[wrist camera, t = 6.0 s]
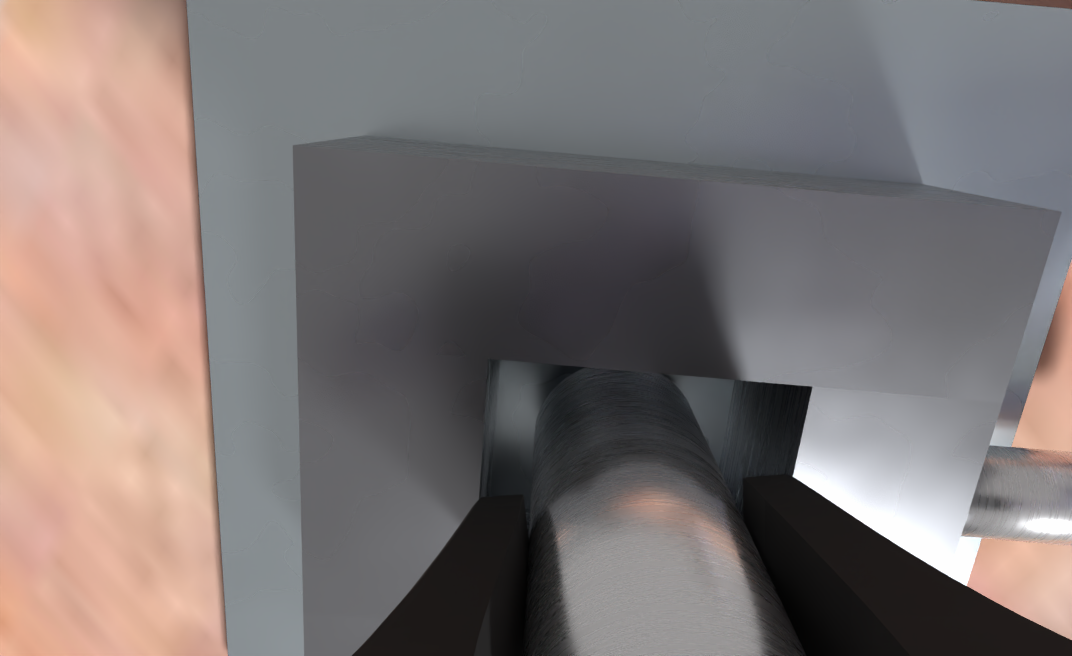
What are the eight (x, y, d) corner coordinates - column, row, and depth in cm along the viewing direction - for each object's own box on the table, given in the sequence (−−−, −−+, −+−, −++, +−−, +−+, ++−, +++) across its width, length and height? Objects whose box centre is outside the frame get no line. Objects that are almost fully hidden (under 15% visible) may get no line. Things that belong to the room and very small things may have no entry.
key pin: (710, 488, 13) (873, 880, 6) (557, 522, 13) (563, 931, 7) (678, 344, 12) (827, 624, 6) (515, 384, 13) (475, 695, 6)
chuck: (1225, 31, 12) (1565, -8, 8) (976, 733, 17) (1110, 931, 13) (205, -58, 12) (28, -144, 8) (245, 673, 17) (147, 853, 13)
